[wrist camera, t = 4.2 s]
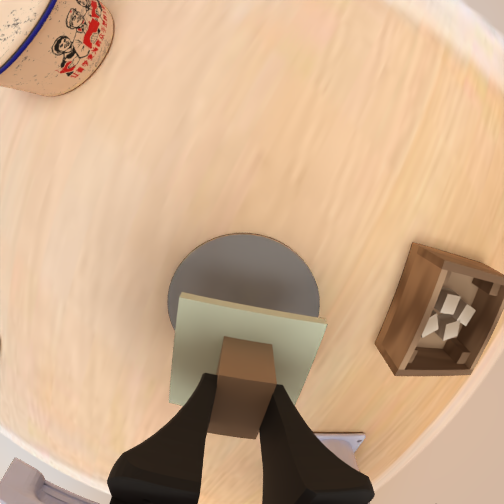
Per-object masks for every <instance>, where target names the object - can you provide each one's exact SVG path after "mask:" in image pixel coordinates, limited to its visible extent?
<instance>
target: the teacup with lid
mask: <svg viewBox="0 0 504 504" xmlns="http://www.w3.org/2000/svg"><path fill="white" fill-rule="evenodd" d="M112 36H113V19H112V16H111V14H110V12H109V10H108V9H107V8H106V7H105V6H104V5H103V4H102V3H101V2H100V1H99V0H0V86H3V87H8V88H13V89H17V90H22V91H26V92H31V93H35V94H39V95H43V96H57V95H61V94H64V93H67V92H69V91H71V90H73V89H74V88H76V87H77V86H79V85H80V84H81V83H83V82H84V81H85V80H86V79H87V78H88V77H89V76H90V75H91V74H92V73H93V72H94V71H95V70H96V68H97V67H98V66H99V64H100V63H101V62H102V60H103V58H104V57H105V55H106V53H107V51H108V49H109V46H110V44H111V40H112Z"/></svg>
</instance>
